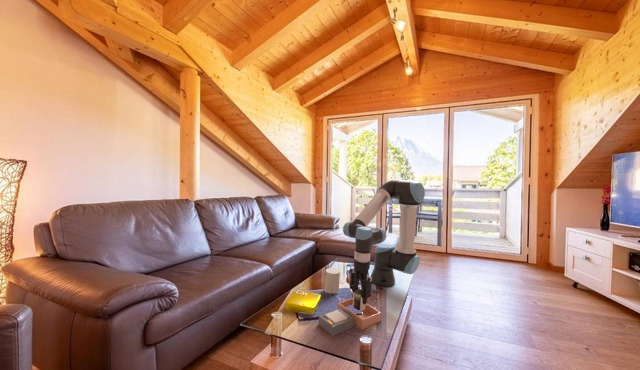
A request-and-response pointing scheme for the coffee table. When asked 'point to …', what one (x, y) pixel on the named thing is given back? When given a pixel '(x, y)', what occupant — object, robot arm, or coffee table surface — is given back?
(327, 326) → the box
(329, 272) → the cup
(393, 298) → the coffee table surface
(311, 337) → the coffee table surface
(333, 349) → the coffee table surface
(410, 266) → the robot arm
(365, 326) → the tray
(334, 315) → the pad
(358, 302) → the battery cell
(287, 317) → the coffee table surface
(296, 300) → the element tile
